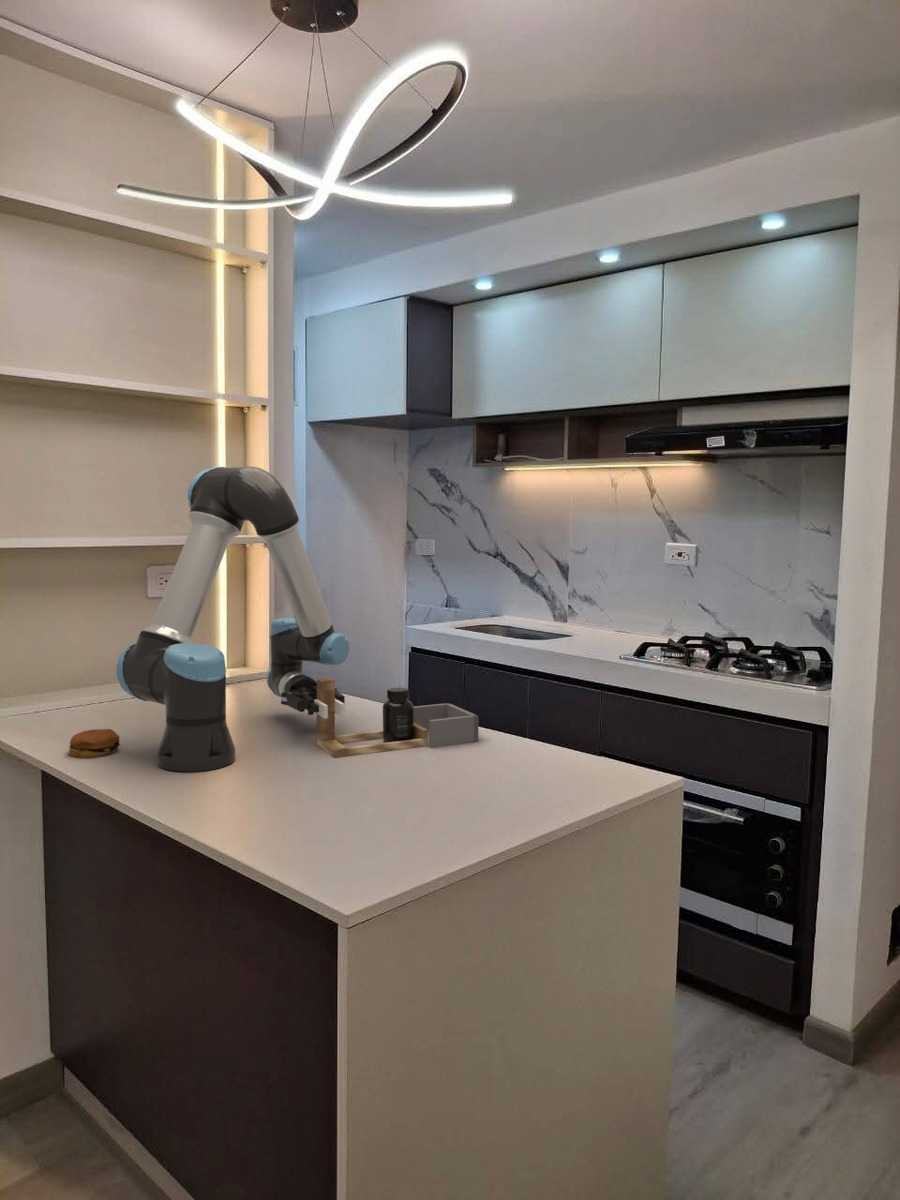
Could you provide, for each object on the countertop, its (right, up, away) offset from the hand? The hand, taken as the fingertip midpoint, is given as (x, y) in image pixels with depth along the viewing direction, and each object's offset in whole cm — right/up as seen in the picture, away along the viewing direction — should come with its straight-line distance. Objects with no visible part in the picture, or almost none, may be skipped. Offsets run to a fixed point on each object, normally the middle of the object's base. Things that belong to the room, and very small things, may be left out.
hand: (334, 711), depth 186 cm
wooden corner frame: (+7, -8, +6) cm, 13 cm away
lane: (+22, -8, +14) cm, 27 cm away
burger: (-50, -9, -1) cm, 51 cm away
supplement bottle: (+13, -8, +9) cm, 18 cm away
